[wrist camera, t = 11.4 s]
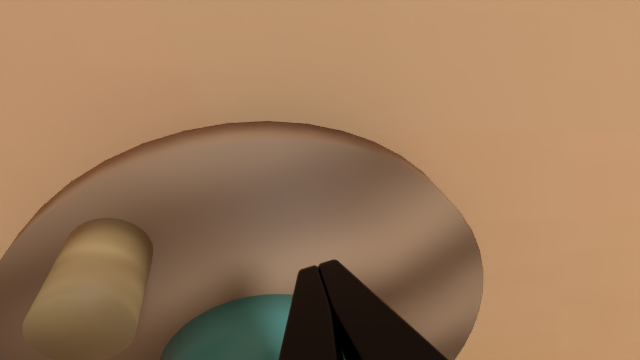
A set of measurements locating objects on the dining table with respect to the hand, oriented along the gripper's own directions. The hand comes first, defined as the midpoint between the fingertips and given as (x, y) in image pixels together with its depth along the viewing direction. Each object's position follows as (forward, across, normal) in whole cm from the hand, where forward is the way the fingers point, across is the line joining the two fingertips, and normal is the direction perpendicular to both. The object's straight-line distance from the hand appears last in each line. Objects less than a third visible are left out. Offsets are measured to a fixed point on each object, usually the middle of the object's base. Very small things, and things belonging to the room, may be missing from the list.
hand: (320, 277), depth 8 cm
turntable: (+7, +3, +8) cm, 11 cm away
